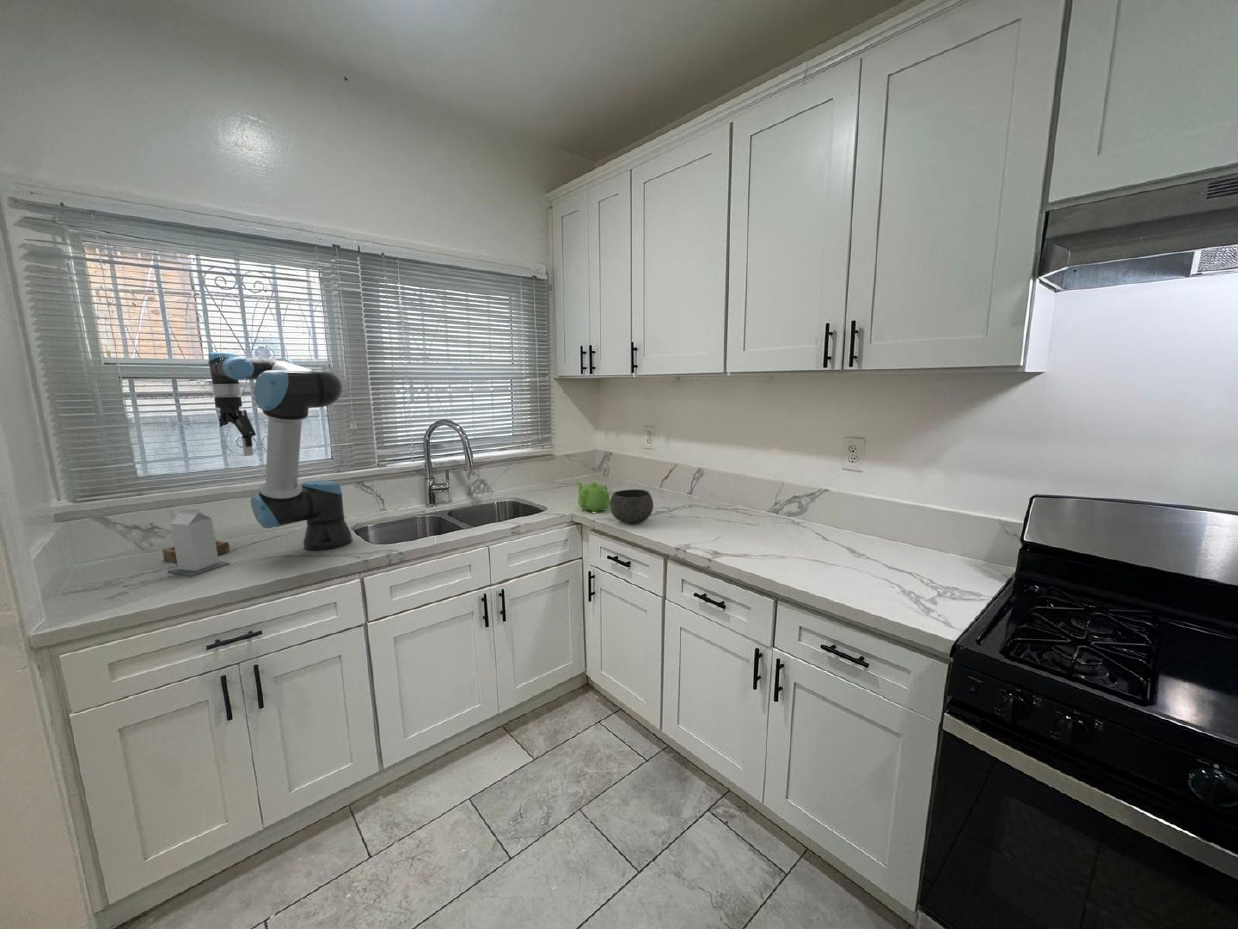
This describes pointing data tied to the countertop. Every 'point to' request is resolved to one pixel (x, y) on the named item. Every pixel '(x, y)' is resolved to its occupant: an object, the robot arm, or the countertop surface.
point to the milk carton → (194, 540)
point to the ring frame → (220, 545)
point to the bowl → (631, 505)
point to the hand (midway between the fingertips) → (236, 454)
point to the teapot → (593, 497)
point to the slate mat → (194, 573)
